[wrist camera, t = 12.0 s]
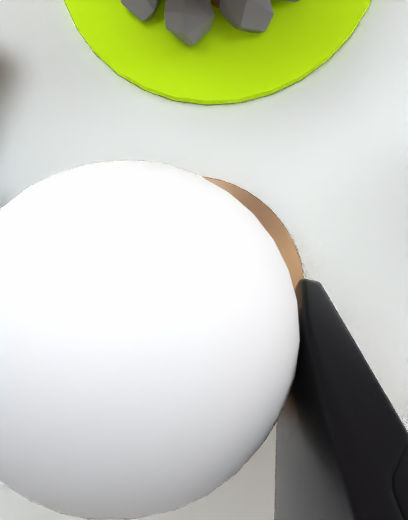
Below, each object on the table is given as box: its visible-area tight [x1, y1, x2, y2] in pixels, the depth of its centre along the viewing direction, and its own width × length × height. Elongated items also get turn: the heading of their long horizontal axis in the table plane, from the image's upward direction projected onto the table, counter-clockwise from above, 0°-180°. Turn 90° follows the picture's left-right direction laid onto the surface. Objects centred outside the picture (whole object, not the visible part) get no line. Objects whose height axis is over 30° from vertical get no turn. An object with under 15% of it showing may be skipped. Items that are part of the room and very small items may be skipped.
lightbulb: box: [0, 160, 300, 520], centre depth 9 cm, size 6×6×11 cm
